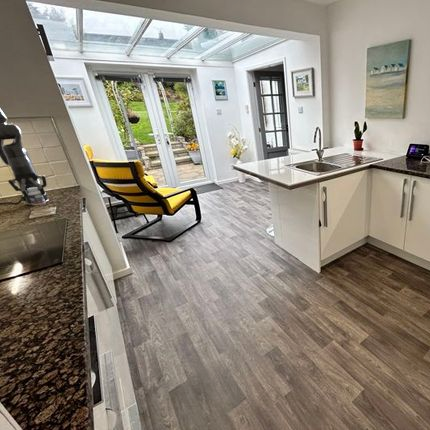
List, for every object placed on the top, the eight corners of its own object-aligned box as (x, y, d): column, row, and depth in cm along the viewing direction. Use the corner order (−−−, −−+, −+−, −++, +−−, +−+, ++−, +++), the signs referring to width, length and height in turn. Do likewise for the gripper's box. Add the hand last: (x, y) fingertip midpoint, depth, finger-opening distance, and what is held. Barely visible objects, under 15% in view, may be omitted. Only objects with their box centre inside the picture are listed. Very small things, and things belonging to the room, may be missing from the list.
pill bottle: (30, 204, 142) (22, 189, 139) (42, 201, 147) (35, 186, 143) (36, 205, 140) (28, 190, 137) (48, 202, 145) (41, 187, 142)
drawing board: (32, 211, 148) (31, 210, 148) (56, 207, 154) (55, 206, 154) (29, 219, 137) (28, 218, 137) (55, 214, 143) (54, 213, 143)
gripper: (40, 162, 142) (54, 191, 149) (1, 166, 134) (17, 197, 140) (39, 164, 137) (53, 194, 144) (-2, 168, 128) (15, 201, 135)
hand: (35, 196), depth 142 cm, fingers closed on pill bottle, 5 cm apart
